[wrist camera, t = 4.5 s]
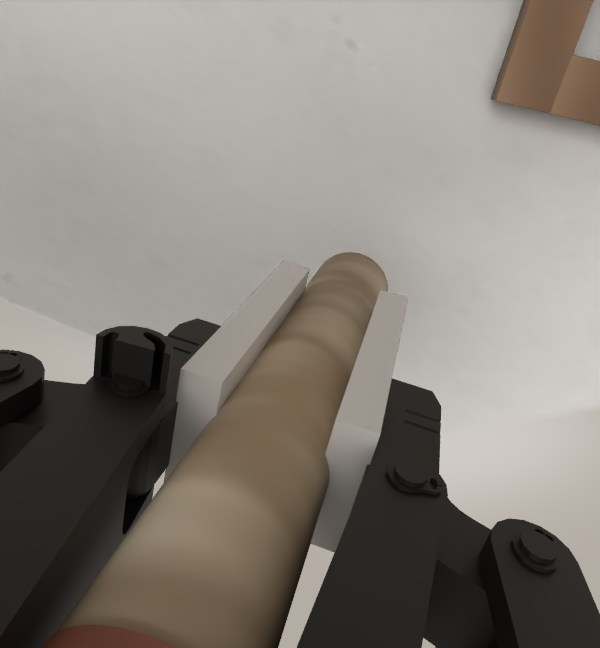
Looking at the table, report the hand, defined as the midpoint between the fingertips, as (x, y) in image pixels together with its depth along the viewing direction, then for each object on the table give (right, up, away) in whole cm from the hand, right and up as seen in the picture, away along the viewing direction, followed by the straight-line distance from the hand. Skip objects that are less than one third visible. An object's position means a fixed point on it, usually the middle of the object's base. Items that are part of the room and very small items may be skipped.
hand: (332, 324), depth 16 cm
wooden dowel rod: (+1, +1, +3) cm, 3 cm away
